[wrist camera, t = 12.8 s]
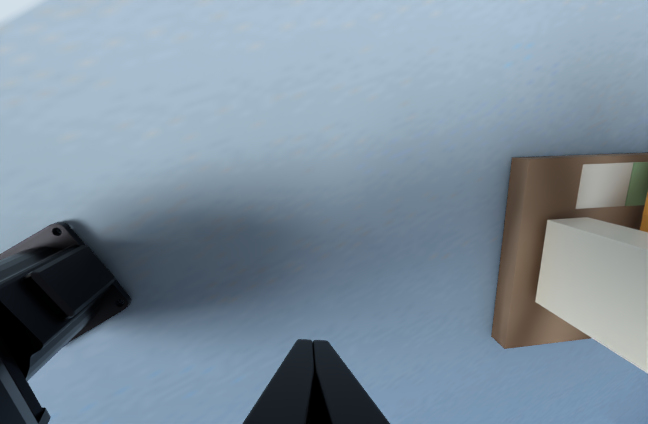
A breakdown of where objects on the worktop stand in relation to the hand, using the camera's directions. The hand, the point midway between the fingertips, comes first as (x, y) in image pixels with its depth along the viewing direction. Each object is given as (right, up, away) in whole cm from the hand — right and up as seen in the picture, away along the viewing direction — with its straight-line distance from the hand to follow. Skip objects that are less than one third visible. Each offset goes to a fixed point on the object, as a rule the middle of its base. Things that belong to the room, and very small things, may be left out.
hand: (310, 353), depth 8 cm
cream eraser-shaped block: (+19, +1, +13) cm, 23 cm away
